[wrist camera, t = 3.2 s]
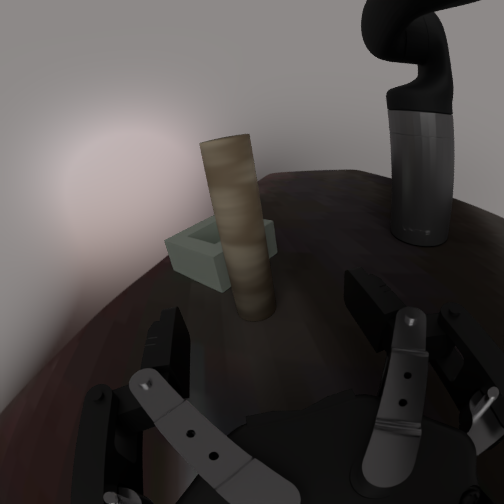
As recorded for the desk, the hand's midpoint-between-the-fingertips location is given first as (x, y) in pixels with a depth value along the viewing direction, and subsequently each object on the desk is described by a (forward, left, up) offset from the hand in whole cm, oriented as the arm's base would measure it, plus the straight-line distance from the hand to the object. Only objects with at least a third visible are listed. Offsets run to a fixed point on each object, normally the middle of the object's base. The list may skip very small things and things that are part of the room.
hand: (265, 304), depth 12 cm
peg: (-7, -8, -9) cm, 14 cm away
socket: (-12, -18, -9) cm, 24 cm away
